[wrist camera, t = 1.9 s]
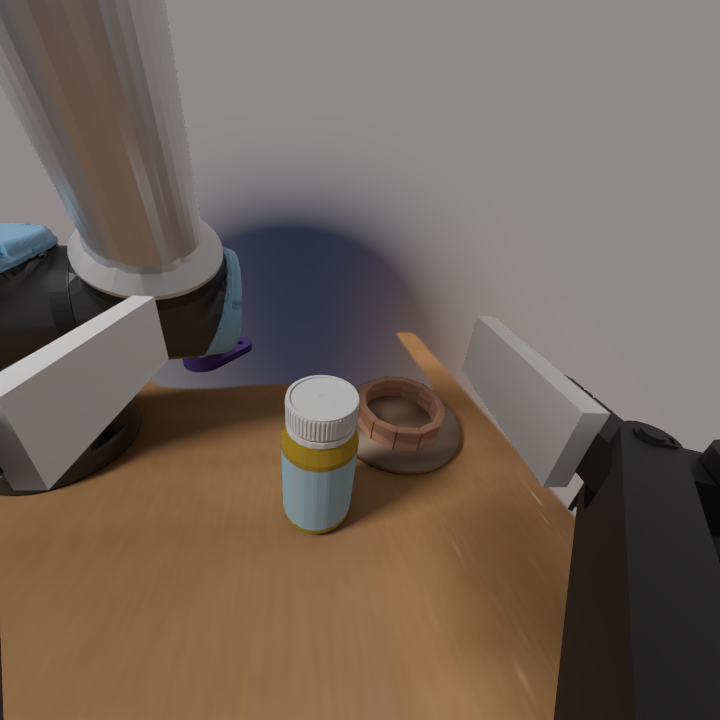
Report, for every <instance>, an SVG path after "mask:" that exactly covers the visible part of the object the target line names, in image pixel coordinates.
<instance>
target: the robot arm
mask: <svg viewBox="0 0 720 720" xmlns="http://www.w3.org/2000/svg"><path fill="white" fill-rule="evenodd" d="M0 87H1V89H2V91H3V93H4V94H5V96H6V98H7V100H8V102H9V104H10V105H11V107H12V109H13V111H14V113H15V115H16V117H17V119H18V120H19V122H20V124H21V126H22V128H23V130H24V132H25V133H26V135H27V137H28V139H29V141H30V143H31V145H32V146H33V148H34V150H35V152H36V154H37V156H38V158H39V159H40V161H41V163H42V165H43V167H44V169H45V171H46V172H47V174H48V176H49V178H50V180H51V182H52V184H53V185H54V187H55V189H56V191H57V193H58V195H59V197H60V198H61V200H62V202H63V204H64V206H65V208H66V210H67V211H68V213H69V215H70V217H71V219H72V221H73V223H74V224H75V226H76V228H77V229H76V230H75V231H74V233H73V234H72V236H71V238H70V240H69V243H68V246H60V245H58V244H57V242H58V239H57V237H56V236H55V235H53V233H52V232H51V231H50V229H48V228H47V227H45V226H42V225H32V224H25V223H8V224H0V495H25V494H32V493H38V492H43V491H47V490H51V489H54V488H58V487H61V486H64V485H67V484H69V483H72V482H74V481H77V480H79V479H81V478H83V477H86V476H88V475H89V474H91V473H93V472H95V471H97V470H99V469H100V468H102V467H104V466H105V465H107V464H108V463H110V462H111V461H112V460H114V459H115V458H116V457H117V456H119V455H120V454H121V453H122V452H123V451H124V450H125V449H126V448H127V447H128V446H129V445H130V444H131V442H132V441H133V440H134V438H135V437H136V435H137V433H138V431H139V428H140V424H141V418H140V414H139V411H138V408H137V405H136V403H135V401H134V399H133V397H134V396H135V395H136V394H137V393H138V392H139V391H140V390H141V389H142V388H143V386H144V385H145V384H146V383H147V382H148V381H149V380H150V379H151V378H152V377H153V375H154V374H155V373H156V372H157V371H158V370H159V369H160V368H161V367H162V366H163V365H164V363H165V362H166V361H167V360H169V359H182V358H194V357H197V358H203V357H206V356H208V355H214V354H221V353H226V352H229V351H231V350H232V349H233V348H234V347H235V346H236V344H237V343H238V340H239V336H240V330H241V320H242V309H241V299H242V286H241V274H240V267H239V262H238V258H237V256H236V254H235V253H234V251H232V250H230V249H226V248H224V247H222V244H221V242H220V239H219V238H218V236H217V234H216V233H215V232H214V230H213V229H212V228H211V227H210V226H208V225H207V224H206V223H205V222H203V221H202V220H201V219H200V214H199V207H198V202H197V195H196V189H195V183H194V177H193V171H192V164H191V158H190V152H189V146H188V140H187V134H186V127H185V122H184V115H183V109H182V103H181V97H180V91H179V85H178V78H177V72H176V67H175V60H174V54H173V47H172V41H171V35H170V29H169V23H168V17H167V11H166V4H165V0H0ZM462 372H463V373H464V375H465V376H466V377H467V379H468V380H469V382H470V383H471V385H472V386H473V387H474V389H475V390H476V392H477V393H478V395H479V396H480V398H481V399H482V400H483V402H484V403H485V405H486V406H487V408H488V409H489V411H490V412H491V413H492V415H493V416H494V418H495V419H496V421H497V422H498V424H499V425H500V426H501V428H502V429H503V431H504V432H505V434H506V435H507V437H508V438H509V439H510V441H511V442H512V444H513V445H514V447H515V448H516V450H517V451H518V452H519V454H520V455H521V457H522V458H523V460H524V461H525V463H526V464H527V465H528V467H529V468H530V470H531V471H532V473H533V474H534V476H535V477H536V478H537V480H538V481H539V483H540V484H541V486H542V487H567V485H568V484H569V482H570V480H571V479H572V477H573V475H574V474H575V472H576V473H577V474H578V475H579V476H580V478H581V479H582V480H583V481H584V484H583V485H582V487H581V488H580V490H579V492H578V493H577V495H576V496H575V498H574V499H573V501H572V502H571V504H570V506H569V508H568V509H569V510H571V511H572V510H573V509H574V507H577V511H576V520H575V529H574V539H573V548H572V557H571V566H570V575H569V584H568V593H567V603H566V612H565V621H564V630H563V639H562V648H561V657H560V667H559V676H558V685H557V694H556V703H555V712H554V720H720V439H719V440H714V441H713V442H712V443H711V444H710V446H709V447H708V448H707V449H706V450H705V451H704V453H701V452H697V451H693V450H688V449H684V448H683V447H682V446H681V444H680V443H679V442H678V441H677V440H676V439H674V438H673V437H672V436H670V435H669V434H667V433H665V432H664V431H662V430H660V429H658V428H655V427H653V426H651V425H648V424H645V423H641V422H638V421H625V422H624V421H623V420H622V419H621V418H619V417H618V416H617V415H615V414H614V413H613V412H612V411H611V410H610V409H608V408H607V407H606V406H605V405H603V404H602V403H601V402H600V401H599V400H597V399H596V398H593V396H592V395H591V394H590V393H589V392H588V391H586V390H584V388H583V387H581V386H580V385H579V384H578V383H576V382H575V381H574V380H573V379H571V378H569V377H567V376H566V375H564V374H562V373H561V372H560V371H559V370H557V369H556V368H555V367H554V366H553V365H551V364H550V363H549V362H548V361H546V360H545V359H544V358H543V357H542V356H540V355H539V354H538V353H537V352H536V351H534V350H533V349H532V348H531V347H530V346H528V345H527V344H526V343H525V342H523V341H522V340H521V339H520V338H519V337H518V336H516V335H515V334H514V333H513V332H511V331H510V330H509V329H508V328H507V327H505V326H504V325H503V324H502V323H501V322H499V321H498V320H497V319H496V318H495V317H489V316H477V318H476V321H475V325H474V329H473V332H472V335H471V339H470V343H469V346H468V349H467V353H466V357H465V360H464V363H463V367H462ZM0 720H3V694H2V667H1V640H0Z"/></svg>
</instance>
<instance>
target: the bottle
mask: <svg viewBox="0 0 720 720" xmlns="http://www.w3.org/2000/svg"><path fill="white" fill-rule="evenodd" d="M359 402H360V401H359V395H358V392H357V390H356V389H355V388H354V386H352V385H351V384H350V383H349V382H347V381H345V380H343V379H341V378H338V377H334V376H329V375H314V376H309V377H305V378H302V379H300V380H298V381H296V382H294V383H293V384H292V385H291V386H290V387H289V388H288V390H287V392H286V395H285V420H286V425H285V427H284V429H283V432H282V437H281V458H282V484H283V506H284V512H285V515H286V517H287V519H288V521H289V522H290V523H291V524H292V525H293V526H294V527H295V528H297V529H298V530H300V531H302V532H305V533H310V534H320V533H326V532H328V531H330V530H333V529H335V528H336V527H337V526H338V525H340V524H341V523H342V522H343V521H344V519H345V517H346V515H347V514H348V511H349V506H350V501H351V494H352V487H353V480H354V473H355V466H356V459H357V452H358V445H359V436H358V431H357V428H356V422H357V417H358V410H359Z"/></svg>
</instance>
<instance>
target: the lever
mask: <svg viewBox="0 0 720 720" xmlns="http://www.w3.org/2000/svg"><path fill="white" fill-rule="evenodd" d="M251 349H252V344H251V340H249V339H247V338H239V340H238V343H237V344H236V346H235V347H234V348H233V349H232V350H231V351H229V352H226V353H221V354H214V355H208V356H206V357H203V358H197V357H194V358H182V359H183V364H184V367H185V368H186V369H187V370H189V371H192V372H199V373H200V372H209V371H212V370H215V369H217V368H219V367H221V366H223V365H225V364H227V363H229V362H231V361H233V360H234V359H237V358H238V357H240V356H242V355H244V354H246V353H248V352H250V351H251Z"/></svg>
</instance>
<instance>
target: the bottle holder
mask: <svg viewBox="0 0 720 720" xmlns="http://www.w3.org/2000/svg"><path fill="white" fill-rule="evenodd" d="M354 388H355V389H356V390H357V392H358V395H359V401H360V402H359V410H358V417H357V422H356V428H357V431H358V436H359V445H358V452H357V458H359V459H360V460H362V461H363V462H365V463H367V464H369V465H370V466H373V467H375V468H377V469H380V470H383V471H386V472H390V473H395V474H404V475H417V474H423V473H428V472H431V471H434V470H436V469H439V468H441V467H442V466H444V465H445V464H446V463H447V462H449V461H450V460H451V458H452V457H453V455H454V454H455V452H456V449H457V447H458V445H459V441H460V429H459V425H458V422H457V420H456V418H455V416H454V414H453V413H452V412H451V410H450V409H449V408H448V407H447V406H446V405H445V404H444V403H443V402H442V401H441V399H440V397H439V396H438V395H437V394H435V393H434V392H433V391H432V390H430V389H429V388H428V387H427V386H425V385H424V384H421V383H419V382H416V381H413V380H410V379H408V378H404V377H389V376H385V377H381V378H377V379H374V380H371V381H368V382H367V383H364V384H361V385H358V386H356V387H354Z"/></svg>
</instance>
